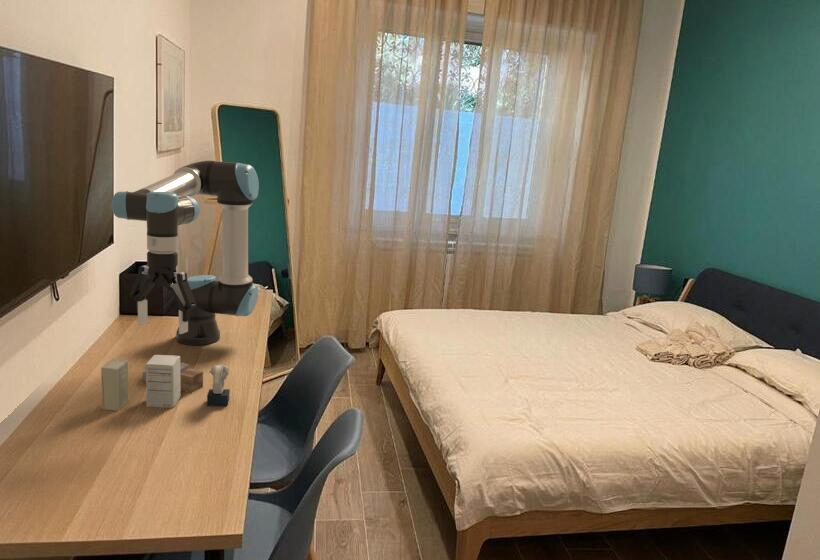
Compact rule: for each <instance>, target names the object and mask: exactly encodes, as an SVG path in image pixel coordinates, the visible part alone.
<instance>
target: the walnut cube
mask: <svg viewBox="0 0 820 560" xmlns="http://www.w3.org/2000/svg"><path fill="white" fill-rule="evenodd" d="M188 368H189V367H188ZM180 387H181V392H186V391H187V392H186V393H191V394H192V392H193V393H194V392H196V391H198V390H200V389H201V388H202V389H203V388H204V371H201V370H198V369H195V368H189V369H187V370H184V371H182V372H180Z"/></svg>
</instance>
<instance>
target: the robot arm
mask: <svg viewBox="0 0 820 560" xmlns="http://www.w3.org/2000/svg"><path fill="white" fill-rule="evenodd" d="M257 173H258V172H256V170H255V168H254V166H252V165H250V164H246V163H241V162H230V161H217V160H202V161H196V162H194V163H193V162H192V163H189V164H187V165H183V166H182V167H179V168H177V169H176V170H175V171H174V172H173V174H172V175H169V176H167V177H164V178H162V179H160V180H158V181H156V182H154V183H151V184H149V185H147V186H144V187H142V188H140V189H138V190H135V191H128V190H127V191H117V192H116V193H114V195H113V197H112V199H111V211H112V213H113V215H114V216H115V217H116V218H119V219H125V220H127V221H130V220H131V221H141V222H146V249H147V250H148V251H147V252H146V264H145V265H140V266H138V270H137V271H138V272H137V274H136V275H137V276H136V278H135V280H134V283H133V284H132V287H131V290H130V292H129V298H133V299H134V300H135V310H136V313H137V325H138V326H141V325H144V324H147V323H148V322H149V321H148V299H147V296H148V294H150V292H151V291H152V290H153V289H154V288H155V286H157V287H159V286H161V287H163V288H166V289H167V290H169V291H170V293H171V294H172V296H173V299H175V301H176V302H177V304H178V307H179V308H180V309H179V310H178V327H177V330H176V333H175V338H176V339H175V340H176V341H177V342H179V343H181V344H184V345H188V346H189V345H190V346H203V345H210V344H214V343H216V342H218V341H220V339H221V331H220V329H219V326H218V322H217V319H216V314H219V315H224V316H225V315H228V316H235V317H249V316H250V315H251V314H253V312H254V311H255V308H256V305H257V303H258V300H259V287H258V285H256V284H253V283H254V282H253V277H252V276H251V275H250V274H249V208H250V207H251V206H252V205H253V201H254V200H256V199H257V198H258V196H259V191H260V183H259V177H258V174H257ZM196 195H205V196H211V197H216V202H217V205H219V206H220V207H221V225H222V227H221V229H222V230H221V231H222V233H221V234H222V235H221V236H222V275H220V276H219V278H218V280H217V277H216V276H215V275H213V274H200V275H199V274H198V275H194V276H193V275H192V276H190V277H189V276H188V273H187V271H182V272H178V271H177V267H178V265H179V264H178V261H179V253H178V252H177V251H178V250H179V237H178V234H179V233H178V231H179V230H178V229H179V228H178V227H179V226H182V225H188V224H190V223H193V222H194V221H196V219H198V217H199V216H200V211H201V210H200V205H199V202H198V201H197V200H196V199H195V198H193V196H196ZM148 276H149V277H148ZM147 278H148V279H147Z"/></svg>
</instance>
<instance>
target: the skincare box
mask: <svg viewBox="0 0 820 560" xmlns="http://www.w3.org/2000/svg"><path fill="white" fill-rule="evenodd" d="M100 368H101V369H100V372H101V373H100V374H101V375H100V376H101V406H102V407H101V409H102V410H108V411H120V410H121V409H122V408H123V407H124V406H125V405H126V404H127V403H129V400H130V399H129V360H123V359H113V358H112V359H111V360H109V361H108V362H107V363H106V364H104V365H102V366H101V367H100Z"/></svg>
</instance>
